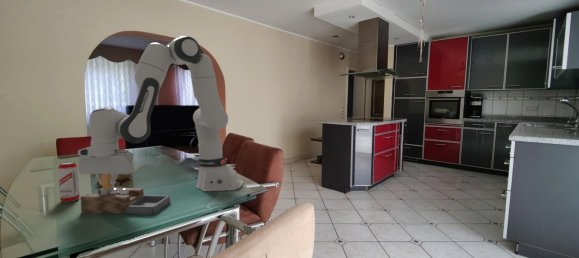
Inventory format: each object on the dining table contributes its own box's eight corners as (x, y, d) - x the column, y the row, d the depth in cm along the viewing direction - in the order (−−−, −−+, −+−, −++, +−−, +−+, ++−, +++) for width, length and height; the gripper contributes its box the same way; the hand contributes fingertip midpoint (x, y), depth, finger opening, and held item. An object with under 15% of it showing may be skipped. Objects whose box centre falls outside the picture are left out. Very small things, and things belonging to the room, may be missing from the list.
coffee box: (111, 190, 127) (109, 156, 126) (113, 186, 133) (111, 153, 131) (133, 187, 131) (132, 154, 130) (134, 183, 137) (132, 152, 136)
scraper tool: (115, 194, 109) (114, 171, 108) (106, 198, 104) (105, 174, 103) (109, 194, 109) (108, 171, 108) (100, 198, 104) (99, 174, 103)
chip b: (113, 195, 108) (122, 195, 108) (107, 198, 105) (116, 199, 104) (113, 186, 108) (121, 187, 108) (106, 189, 104) (115, 189, 104)
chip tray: (170, 202, 112) (169, 195, 111) (154, 214, 100) (153, 206, 99) (144, 202, 112) (143, 195, 112) (125, 213, 100) (124, 206, 100)
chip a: (126, 197, 108) (133, 193, 108) (120, 200, 104) (127, 196, 104) (121, 190, 108) (128, 185, 107) (114, 193, 104) (122, 188, 104)
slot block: (143, 202, 112) (143, 188, 111) (125, 213, 100) (124, 198, 100) (104, 201, 113) (103, 187, 112) (81, 212, 101) (80, 196, 101)
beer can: (67, 197, 117) (65, 161, 115) (83, 197, 117) (80, 161, 116) (56, 203, 110) (53, 164, 109) (73, 202, 111) (70, 164, 109)
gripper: (136, 148, 107) (138, 182, 109) (86, 148, 108) (89, 181, 110) (125, 151, 101) (128, 187, 102) (73, 151, 102) (76, 186, 104)
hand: (107, 184), depth 106 cm, fingers closed on scraper tool, 2 cm apart
